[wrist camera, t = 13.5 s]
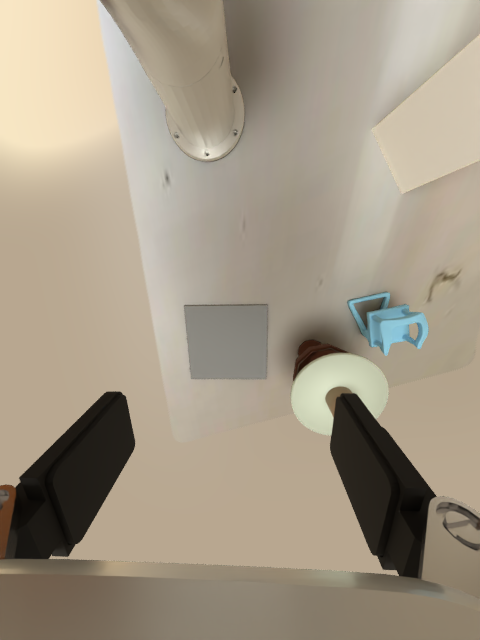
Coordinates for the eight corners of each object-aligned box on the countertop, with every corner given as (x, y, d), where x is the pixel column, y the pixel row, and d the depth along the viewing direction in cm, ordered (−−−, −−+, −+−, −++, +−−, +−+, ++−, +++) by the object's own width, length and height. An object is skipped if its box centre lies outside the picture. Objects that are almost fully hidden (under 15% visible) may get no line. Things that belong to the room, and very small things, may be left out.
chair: (350, 337, 47) (383, 366, 35) (347, 300, 44) (380, 318, 33) (389, 330, 46) (435, 357, 35) (387, 291, 44) (436, 306, 32)
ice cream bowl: (298, 320, 46) (321, 351, 32) (346, 340, 47) (389, 379, 33) (276, 362, 49) (287, 408, 35) (321, 380, 50) (350, 432, 36)
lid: (292, 352, 32) (301, 373, 26) (393, 352, 31) (424, 374, 26) (288, 431, 36) (295, 463, 31) (377, 432, 36) (400, 466, 30)
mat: (184, 305, 46) (184, 306, 46) (267, 304, 45) (267, 305, 45) (191, 377, 51) (191, 378, 51) (266, 377, 50) (266, 379, 50)
